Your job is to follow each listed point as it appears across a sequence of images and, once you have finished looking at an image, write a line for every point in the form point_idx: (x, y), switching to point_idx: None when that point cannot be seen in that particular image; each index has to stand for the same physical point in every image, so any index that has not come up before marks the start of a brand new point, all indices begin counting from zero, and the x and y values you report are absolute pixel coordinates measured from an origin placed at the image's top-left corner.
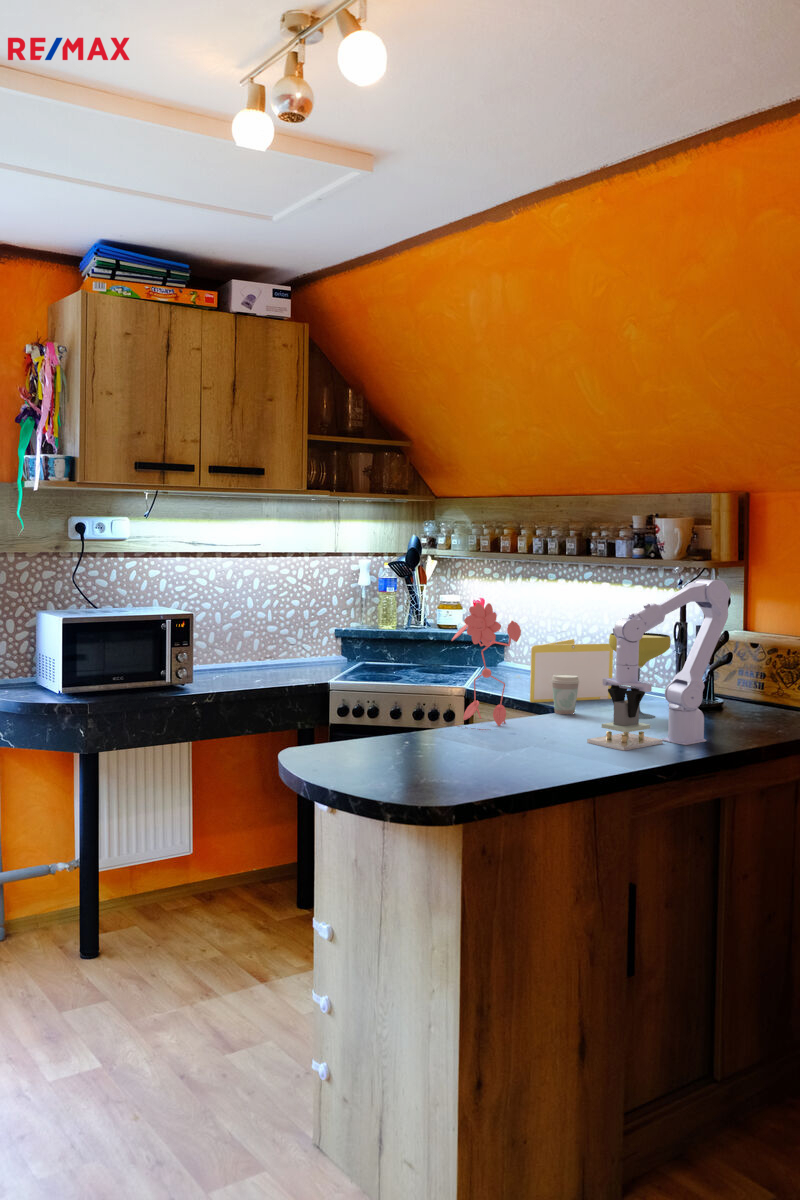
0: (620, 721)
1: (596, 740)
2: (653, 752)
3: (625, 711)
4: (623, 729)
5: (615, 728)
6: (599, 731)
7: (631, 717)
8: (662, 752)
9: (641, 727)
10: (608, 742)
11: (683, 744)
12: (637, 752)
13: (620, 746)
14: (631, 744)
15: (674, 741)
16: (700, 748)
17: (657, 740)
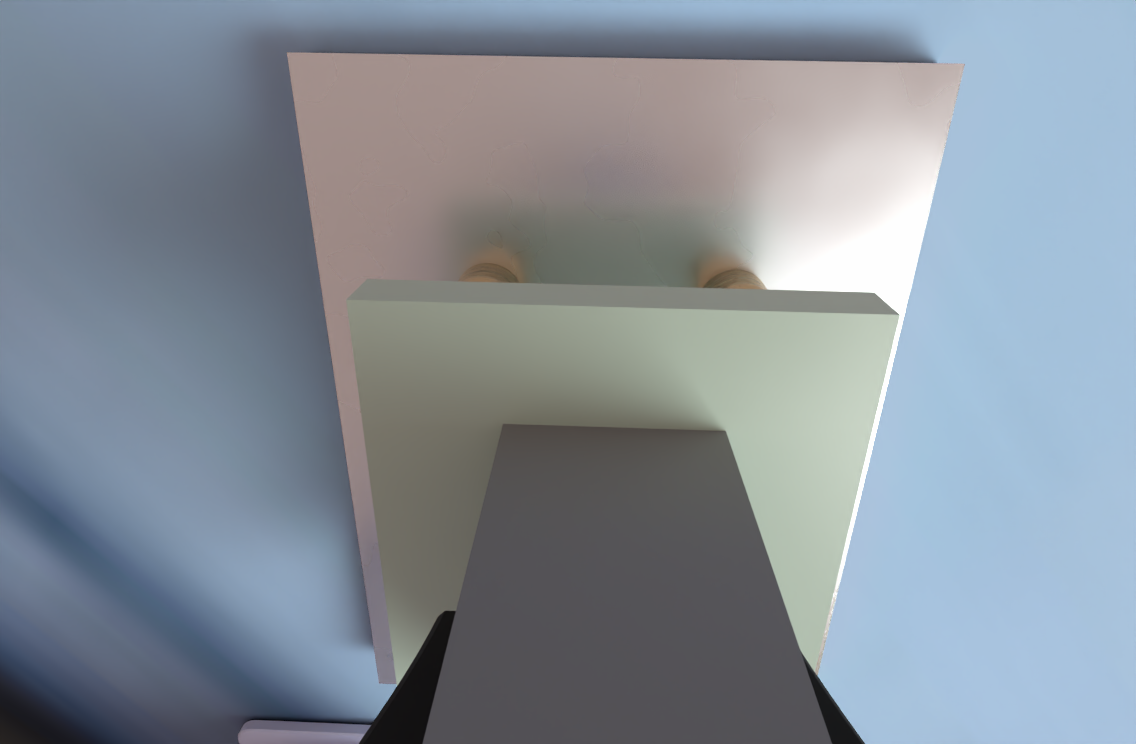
0: (578, 466)
1: (808, 97)
2: (93, 277)
3: (457, 631)
4: (410, 295)
5: (581, 295)
6: (1121, 673)
7: (437, 627)
8: (62, 353)
9: (391, 605)
10: (607, 120)
11: (260, 722)
12: (159, 120)
13: (349, 55)
14: (354, 268)
15: (349, 737)
16: (101, 710)
17: (377, 630)
